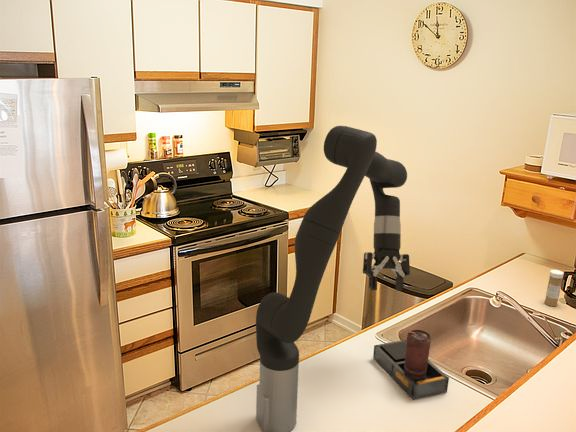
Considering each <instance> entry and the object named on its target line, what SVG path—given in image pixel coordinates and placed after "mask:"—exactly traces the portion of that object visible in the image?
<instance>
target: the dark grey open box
mask: <svg viewBox="0 0 576 432" xmlns="http://www.w3.org/2000/svg"><path fill="white" fill-rule="evenodd" d="M406 348H407V339H403V340H397V341H391V342H385V343H380V344H374V345H373V357H372V359H373V360H374V361H375V362H376V363H377V364H378V365H379V366H380V368H382V370H383V371H384V372H385V373H386V374H387V375H388V377H390V378H391V379H392V380H393V381H394V382H395V383H396V384H397V386H399V388H401V389H402V391H404V393H405V394H406V395H407V396H408V397H409V398H410V399H411V400H412V401H414V400H420V399H423V398H429V397H432V396H436V395H440V394H441V395H442V394H445V393H448V387H449V381H450V377H449V376H448V375H447V374H446V373H444V372H443V371H442V370H441V369H439V368H438V367H437V366H436V365H435V364H434V363H433V362H431V360H430V359H428V364H427V371H426V378H425V380H422V381H417V382H416V383H415V382H414V381H413V380H412V379H411V378H410V377H409V376H408V375H407V374H406V373H405V372H404V363H405V356H406Z"/></svg>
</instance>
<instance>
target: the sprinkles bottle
mask: <svg viewBox="0 0 576 432" xmlns="http://www.w3.org/2000/svg"><path fill="white" fill-rule="evenodd" d="M563 278H564V272H563V271H562V270H559V269H550V271H549V277H548V279H549V280H548V283H547V284H548V285H547V288H546V292H545V299H544V304H545V305H547V306H549V307H557V306H558V302H559V298H560V297H559V296H560V292H561V287H562V283H563V282H562V281H563Z"/></svg>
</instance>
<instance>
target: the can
mask: <svg viewBox="0 0 576 432" xmlns="http://www.w3.org/2000/svg"><path fill="white" fill-rule="evenodd" d="M406 341H407V348H406V356H405V363H404V372H405V373H406V374H407V375H408V376H409V377H410V378H411V379H412V380H413V381H414V382H415V383H416V382H417V381H422V380H425V378H426V371H427V364H428V360H429V355H430V351H431V350H430V348H431V341H432V339H431V335H430V333H429V332H426V331H425V330H421V329H413V330H410V331H408V332H407V335H406Z"/></svg>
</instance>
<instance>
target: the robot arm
mask: <svg viewBox="0 0 576 432" xmlns="http://www.w3.org/2000/svg"><path fill="white" fill-rule="evenodd" d="M377 143H378V141H377V136H376V135H375V134H374V133H372V132H369V131H367V130H362V129H360V128H355V127H351V126H347V125H336V126H333V127H332V128H331V129H330V130H329V131H328V133H327V134H326V136H325V139H324V142H323V155H324V157H325V158H326V160H328V161H329V162H330V163H332V164H334V165H337V166H340V167H343V168H346V169H345V172H344V174H343V175H342V176H341V178H340V180H339V181H338V183H337V184H336V185H335V187H333V188H332V189H331V190H330V191H329V192H327V193H326V194H325V195H323V196H322V197H321V198H320V199H318V200H317V201H316V202H315V203H313V204H312V205H311V206H310V207H309V208H308V209H307V211H306V212H305V213H304V214H303V215H304V216H303V217H302V220H301V223H300V224H299V228H298V230H297V233H296V235H295V239H294V257H295V258H294V259H295V278H294V283H293V286H292V290H291V293H290V295H289V296H287V295H284V294H283V293H280V292H270V293H268V294H267V295H265V296H264V297H263V298H262V299H261V301H260V302H259V305H258V306H257V310H256V315H255V330H256V332H255V337H256V348H257V352H258V353H259V382H258V383H259V384H257V385H256V402H255V403H256V405H255V406H256V408H255V410H256V412H255V413H256V414H255V418H256V421H257V422H258V425H259V427H260V429H261V431H262V432H291V431H293V430H294V429H295V427H296V424H297V415H298V388H299V368H300V367H299V366H300V364H299V363H300V350H299V348H298V346H297V344H295V342H297V341H298V340H299V339H300V338H301V336H302V335H303V334H304V332H305V330H306V328H307V326H308V324H309V322H310V318H311V315H312V312H313V309H314V306H315V301H316V299H317V295H318V291H319V288H320V285H321V283H322V279H323V277H324V274H325V272H326V268H327V266H328V263H329V262H330V259H331V257H332V254H333V251H334V249H335V247H336V245H337V242H338V240H339V237H340V235H341V232H342V229H343V226H344V223H345V221H346V219H347V216H348V214H349V211H350V208H351V206H352V204H353V201H354V199H355V196H356V194H357V192H358V191H359V188H360V186H361V184H362V182H363V180H364V178H365V177H366V178H368V179H369V183H370V186H371V189H372V194H373V199H374V222H373V250H374V251H373V252H369V251H368V252H366V251H365V252H364V253H363V264H362V274H365V275H367V276H368V281H369V282H368V288H369V289H370V291H377V290H378V277H377V275H378V274H379V273H380V272H381V271H382V269H383V270H385V269H387V270H388V269H390V270H391V271H392V272H393V273H394V275H395V276H396V277H395V291H397V292H401V291H403V289H404V277H406V276H410V275H411V267H410V254H407V253H405V254H400V250H401V242H402V241H401V237H402V235H401V231H402V230H401V229H402V227H401V226H402V225H401V201H400V198H399V197H397V196H396V195H395V196H394V195H390V194H389V195H388V194H386V193H385V191H384V189H392V188H393V189H394V188H396V189H397V188H400V187H402V186H404V185H405V183H406V182H407V179H408V171H407V169H406V167H405V165H404V164H403V163H401V162H400V161H398V160H394V159H388V158H387V157H385V156H384V155H382V154H381V153H379V152H378V151H376V150H377V145H378V144H377ZM373 260H374V262H373ZM399 261H400V262H399Z"/></svg>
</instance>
